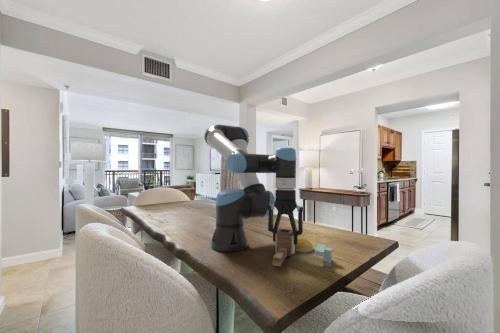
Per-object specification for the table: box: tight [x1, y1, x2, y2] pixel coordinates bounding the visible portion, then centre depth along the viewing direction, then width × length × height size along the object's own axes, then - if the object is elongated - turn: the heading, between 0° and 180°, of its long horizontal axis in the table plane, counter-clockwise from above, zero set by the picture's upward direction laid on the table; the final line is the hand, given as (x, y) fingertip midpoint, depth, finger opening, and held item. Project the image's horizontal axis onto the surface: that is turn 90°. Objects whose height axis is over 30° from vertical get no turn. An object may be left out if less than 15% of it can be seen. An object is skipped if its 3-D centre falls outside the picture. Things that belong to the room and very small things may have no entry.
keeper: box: [314, 243, 332, 268], centre depth 79 cm, size 5×8×5 cm, turn 159°
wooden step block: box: [272, 228, 293, 267], centre depth 79 cm, size 15×5×8 cm, turn 159°
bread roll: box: [295, 237, 314, 254], centre depth 91 cm, size 8×9×4 cm
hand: (285, 251), depth 84 cm, fingers closed on wooden step block, 5 cm apart
